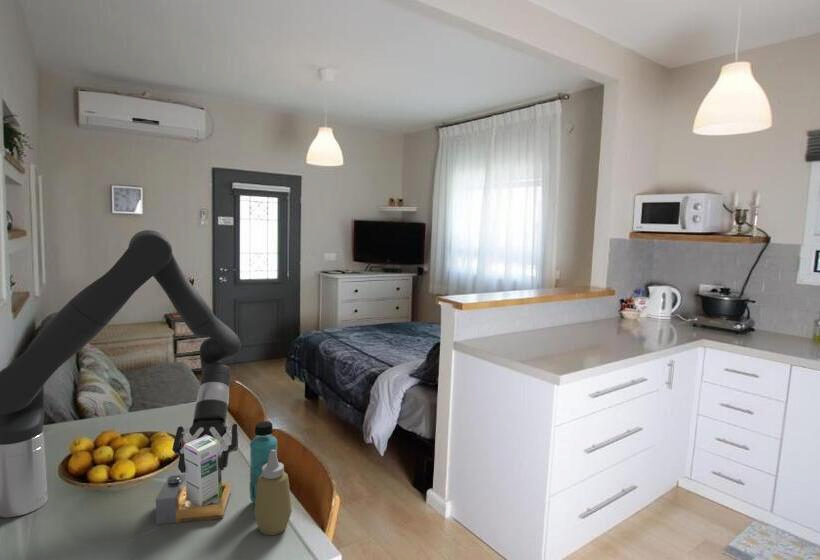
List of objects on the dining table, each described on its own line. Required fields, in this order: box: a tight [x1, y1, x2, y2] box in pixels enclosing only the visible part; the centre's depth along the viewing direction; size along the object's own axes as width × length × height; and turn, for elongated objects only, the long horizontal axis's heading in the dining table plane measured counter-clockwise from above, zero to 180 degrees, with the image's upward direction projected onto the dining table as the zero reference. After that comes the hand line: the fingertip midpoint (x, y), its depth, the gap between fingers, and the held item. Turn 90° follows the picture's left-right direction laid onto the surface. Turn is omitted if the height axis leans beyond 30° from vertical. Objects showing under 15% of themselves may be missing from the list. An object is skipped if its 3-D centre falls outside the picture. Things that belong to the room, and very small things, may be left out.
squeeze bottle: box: [253, 450, 293, 536], centre depth 104 cm, size 8×8×18 cm
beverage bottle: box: [249, 420, 278, 504], centre depth 113 cm, size 6×7×20 cm
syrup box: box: [183, 435, 222, 506], centre depth 110 cm, size 6×6×14 cm
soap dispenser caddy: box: [155, 474, 232, 525], centre depth 110 cm, size 14×10×7 cm
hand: (202, 470), depth 109 cm, fingers closed on syrup box, 8 cm apart
